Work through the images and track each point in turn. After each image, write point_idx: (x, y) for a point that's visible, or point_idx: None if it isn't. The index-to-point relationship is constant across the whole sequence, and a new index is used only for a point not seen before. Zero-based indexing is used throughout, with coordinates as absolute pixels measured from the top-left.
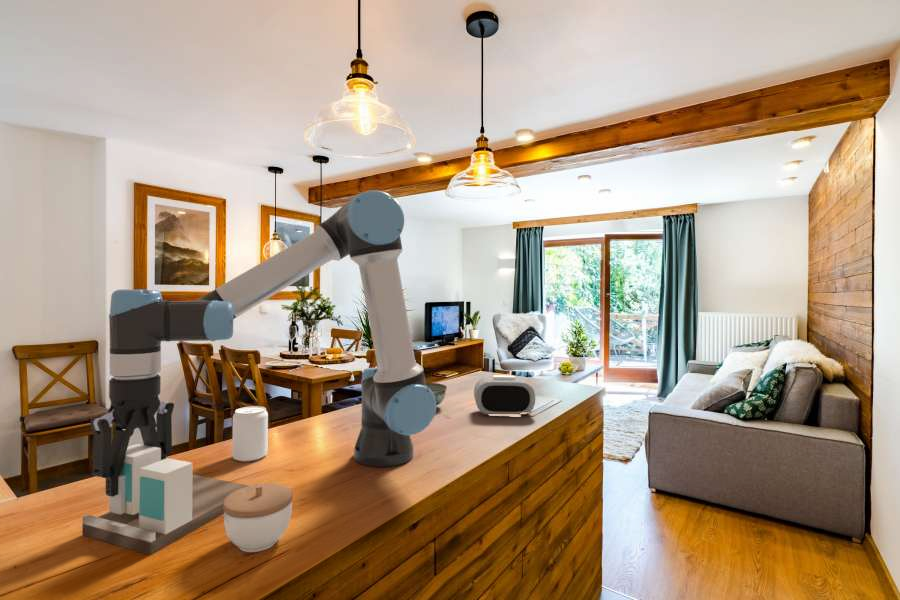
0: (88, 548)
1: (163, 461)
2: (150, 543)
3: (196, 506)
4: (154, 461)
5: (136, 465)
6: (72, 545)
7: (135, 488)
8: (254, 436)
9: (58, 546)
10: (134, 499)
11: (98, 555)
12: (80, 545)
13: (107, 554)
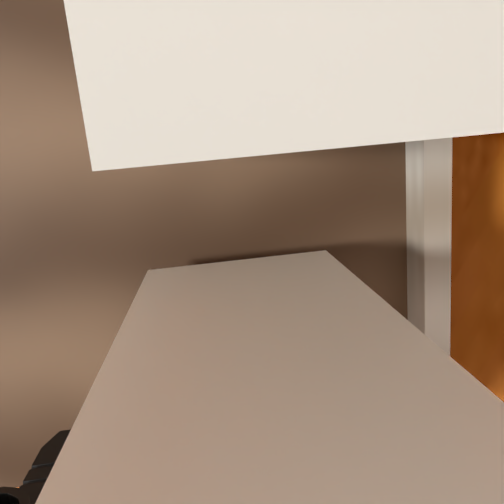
0: (461, 266)
1: (276, 24)
2: None
3: (15, 73)
4: (171, 443)
5: (486, 426)
6: (468, 348)
7: (365, 305)
8: None
9: (491, 385)
10: (347, 274)
11: (482, 168)
12: (457, 320)
13: (464, 140)
